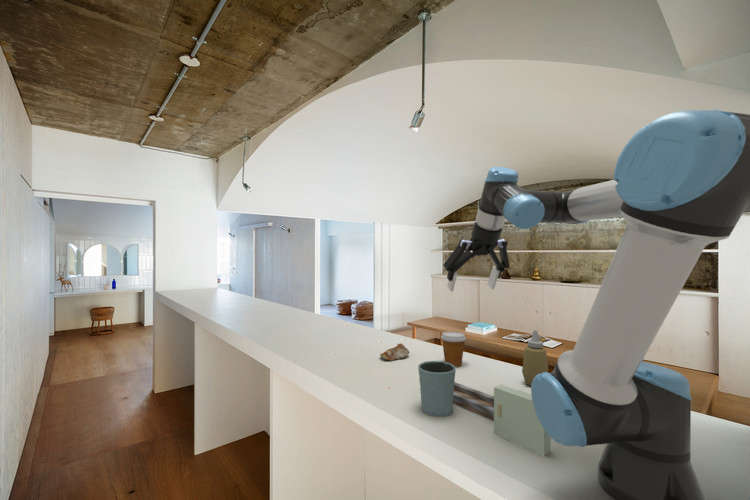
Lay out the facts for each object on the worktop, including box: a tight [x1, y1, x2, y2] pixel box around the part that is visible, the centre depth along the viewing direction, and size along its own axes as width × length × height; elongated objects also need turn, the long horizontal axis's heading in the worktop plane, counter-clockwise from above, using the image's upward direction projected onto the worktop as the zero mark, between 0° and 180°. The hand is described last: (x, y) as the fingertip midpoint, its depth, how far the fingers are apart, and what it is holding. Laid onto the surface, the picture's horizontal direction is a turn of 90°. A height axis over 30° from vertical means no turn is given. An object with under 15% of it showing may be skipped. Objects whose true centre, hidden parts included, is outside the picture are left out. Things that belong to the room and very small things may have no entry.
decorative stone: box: [380, 343, 411, 362], centre depth 143 cm, size 10×4×15 cm
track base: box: [453, 381, 494, 421], centre depth 99 cm, size 24×8×2 cm, turn 39°
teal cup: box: [418, 360, 457, 417], centre depth 95 cm, size 10×10×12 cm
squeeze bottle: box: [521, 329, 549, 387], centre depth 114 cm, size 8×8×18 cm
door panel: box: [493, 384, 552, 457], centre depth 79 cm, size 12×3×11 cm, turn 39°
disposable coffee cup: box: [440, 331, 467, 368], centre depth 134 cm, size 10×10×12 cm
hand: (470, 287), depth 104 cm, fingers open, 13 cm apart
